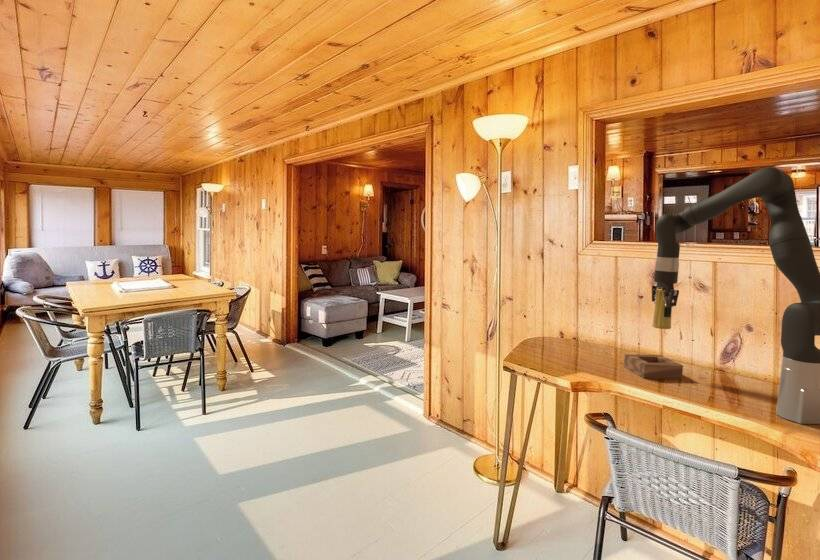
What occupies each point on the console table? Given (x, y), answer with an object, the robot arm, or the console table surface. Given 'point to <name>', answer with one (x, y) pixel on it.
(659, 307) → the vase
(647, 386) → the console table surface
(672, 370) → the bore block
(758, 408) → the console table surface
